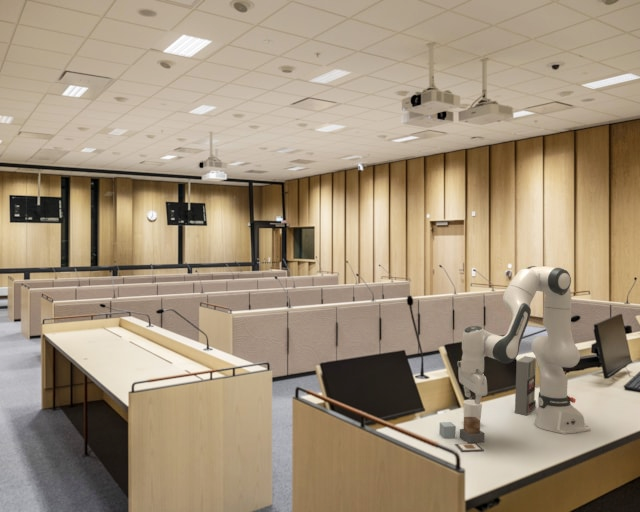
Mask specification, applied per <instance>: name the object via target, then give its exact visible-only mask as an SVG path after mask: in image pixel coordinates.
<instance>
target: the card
mask: <svg viewBox="0 0 640 512" xmlns="http://www.w3.org/2000/svg"><path fill="white" fill-rule="evenodd" d="M454 446H456V448H457V449H458V450H459V451H460V452H461V453H471V452H472V453H473V452H474V453H476V452H484V451H485V450H484V449H483V448H482V447H481V446H480V445H479V443H454Z"/></svg>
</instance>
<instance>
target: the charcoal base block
mask: <svg viewBox="0 0 640 512" xmlns="http://www.w3.org/2000/svg"><path fill="white" fill-rule="evenodd" d="M485 436H486V435H485V432H484V431H481V430H480V433H467V432H466V431H465V430H464V428H460V429H459V439H461V441H464V442H466V444H468V443H477V444H483V443H485V440H486V439H485Z"/></svg>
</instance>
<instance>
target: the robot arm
mask: <svg viewBox="0 0 640 512" xmlns="http://www.w3.org/2000/svg"><path fill="white" fill-rule="evenodd" d="M571 277H572V276H571V275H570V273H569V271H568V270H566V269H564V268H561V267H554V266H548V265H547V266H546V265H545V266H543V265H542V266H535V265H534V266H533V265H532V266H527V267H526V268H522V269H520V270H519V271H518V272H517V273H516V274H515V275H514V276H513V278H512V279H511V281H510V282H509V283H508V286H507V287H506V289H505V291H504V293H503V295H502V303H503V305H504V306H505V308H506V309H507V310H508V311H509V312H511V313H512V314H511V315H512V320H511V323H510V325H509V327H508V330H507V333H506V334H505V335H503V336H501V335H499V334H495V333H493V332H492V333H491V332H489V331H487V330H485V329H484V328H483V327H482V326H479V325H475V326H474V325H473V326H472V325H471V326H467V327H466V328H465V329H463V333H462V338H461V351H462V355H461V360H460V361H459V360H458V361H457V367H458V381H459V383H460V384H461V385H463V390H464V396H465V397H466V398H470V397H471V392H473V393H474V394H475V398H474V400H475V404H477V405H478V404H480V402H481V399H482V397H485V396H487V395H488V383H487V382H488V381H487V377H486V376H485V375H484V372H485V357H488V358H491V359H494V360H497V361H498V362H500V363H502V364H510V363H512V362H513V361H514V360H515V359H516V358H517V356H518V355H519V352H520V345H521V342H522V339H523V338H524V333H525V332H526V329H527V326H528V323H529V321H530V318H531V311H532V309H531V304H532V301H533V299H534V297H535V295H536V293H537V291H538V292H541V293H544V295H545V296H544V301H543V302H544V303H543V317H542V324H543V327H544V328H545V330H546V333H547V335H540V336H539V335H538V336H537V337H535V338H534V339H533V340H532V342H531V344H530V345H531V347H530V348H531V351H532V353H533V355H534V356H535V357H534V358H536V364H537V367H538V370H539V371H538V372H539V392H538V398H537V399H538V401H537V402H538V409H537V415H536V418H535V421H534V425H535V426H536V427H538V428H540V429H542V430H545V431H548V432H549V431H550V432H555V433H558V434H562V435H568V434H575V433H576V432H577V433H583V432H590V431H591V427H590V426H589V424H587V423H585V417H584V415H583V413H581V412H580V411H579V409H577V408H576V407H574V406H573V405H572V404H575V403H576V401H577V399H576V398H574V397H570V396H569V395H568V376H567V375H566V373H565V371H564V369H563V368H570V369H571V368H574V367H575V366H577V365H578V363H579V362H580V360H581V353H580V350H579V349H578V347H577V346H576V343H575V341H574V337H573V333H572V327H571V324H572V321H571V320H572V306H573V305H572V291H571V288H570V287H571V284H572V278H571ZM470 391H471V392H470Z"/></svg>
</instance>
